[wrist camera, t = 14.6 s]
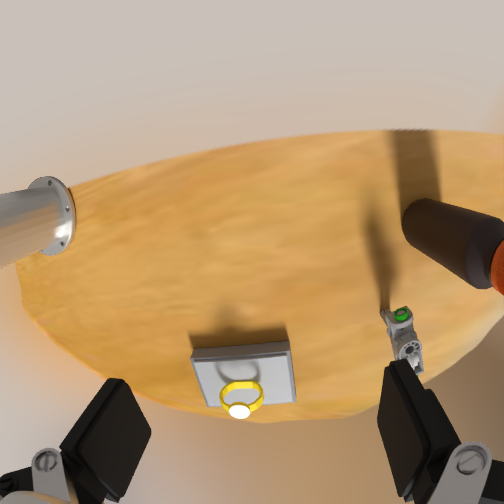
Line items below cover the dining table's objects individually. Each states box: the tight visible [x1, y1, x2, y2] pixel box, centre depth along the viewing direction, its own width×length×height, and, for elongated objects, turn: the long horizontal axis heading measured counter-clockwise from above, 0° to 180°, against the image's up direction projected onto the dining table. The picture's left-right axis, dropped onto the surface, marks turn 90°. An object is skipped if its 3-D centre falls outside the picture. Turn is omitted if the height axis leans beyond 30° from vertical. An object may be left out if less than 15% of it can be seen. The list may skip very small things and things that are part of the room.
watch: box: [219, 380, 264, 419], centre depth 36 cm, size 6×3×6 cm, turn 98°
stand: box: [190, 340, 296, 407], centre depth 41 cm, size 14×10×3 cm
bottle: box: [402, 198, 504, 295], centre depth 24 cm, size 7×7×20 cm
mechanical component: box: [380, 306, 424, 377], centre depth 33 cm, size 3×10×10 cm, turn 24°
